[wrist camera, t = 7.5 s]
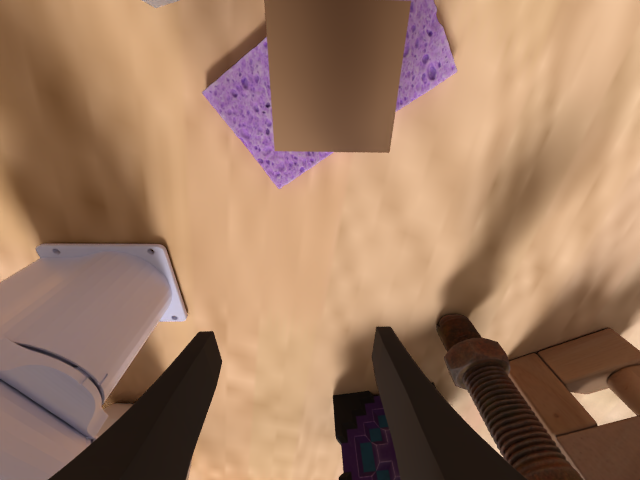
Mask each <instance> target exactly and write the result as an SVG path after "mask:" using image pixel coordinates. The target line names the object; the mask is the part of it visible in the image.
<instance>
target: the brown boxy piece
mask: <svg viewBox="0 0 640 480" xmlns="http://www.w3.org/2000/svg"><path fill="white" fill-rule="evenodd" d="M264 3H265V18H266V32H267V47H268V62H269V76H270V91H271V106H272V120H273V135H274V150H275V151H295V152H386V153H389V152H390V145H391V138H392V131H393V124H394V117H395V110H396V103H397V96H398V89H399V82H400V75H401V68H402V61H403V54H404V47H405V41H406V34H407V27H408V20H409V13H410V6H411V1H403V0H264Z"/></svg>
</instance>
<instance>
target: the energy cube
mask: <svg viewBox="0 0 640 480" xmlns="http://www.w3.org/2000/svg"><path fill="white" fill-rule="evenodd" d="M432 385H433V386H434V387H435V385H434V383H432ZM435 388H436V387H435ZM333 404H334V419H335V433H336V439H337V441H338V442H339V443H340V444H341V446H342V458H343V470H344V473H343V474H342V475H341V476H340V477H339V480H401V479H400V474H399V469H398V464H397V459H396V454H395V449H394V445H393V441H392V437H391V433H390V430H389V426H388V423H387V419H386V415H385V412H384V408H383V405H382V401H381V398H380V395H379V396H373V395H372V394H371V393H370V392H369V391H364V392H357V393H349V394H342V395H334V396H333Z"/></svg>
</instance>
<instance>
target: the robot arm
mask: <svg viewBox="0 0 640 480" xmlns="http://www.w3.org/2000/svg"><path fill="white" fill-rule="evenodd" d="M150 249H152V250H154V252H153V251H151V250H150ZM36 251H37V253H38V255H39V256H40V259H38V260H37V261H35V262H33V263H32V264H30V265H28V266H27V267H25V268H23V269H22V270H20V271H18V272H17V273H15V274H13V275H12V276H10V277H8V278H7V279H5V280H3V281H2V282H0V480H186V477H187V474H188V470H189V466H190V462H191V459H192V455H193V452H194V449H195V446H196V443H197V440H198V437H199V435H200V432H201V429H202V426H203V423H204V420H205V418H206V415H207V412H208V409H209V406H210V403H211V401H212V398H213V395H214V392H215V389H216V386H217V382H218V378H219V374H220V369H221V364H222V359H221V356H220V352H219V349H218V346H217V342H216V339H215V335H214V332H213V331H210V332H199V333H198V334H197V335H196V336H195V337H194V338H193V339H192V340H191V342H190V343H189V344H188V345H187V346H186V348H185V349H184V350H183V351H182V352H181V353H180V355H179V356H178V357H177V358H176V359H175V360H174V362H173V363H172V364H171V365H170V366H169V367H168V368H167V369H166V370H165V372H164V373H163V374H162V375H161V376H160V377H159V378H158V379H157V380H156V382H155V383H154V384H153V385H152V386H151V387H150V388H149V389H148V390H147V391H146V392H145V393H144V394H143V395H142V396H141V397H140V398H139V399H138V400H137V401H136V402H135V403H134V404H133V405H132V406H131V407H130V408H129V409H128V410H127V411H126V412H125V413H124V414H123V415H122V416H121V417H120V418H119V419H118V420H117V421H116V422H115V423H114V424H113V425H112V426H110V427H109V428H108V429H107V430H106V431H105V432H104V433H103V434H102V435H101V436H99V437H98V436H96V435H97V433H98V432H99V430H100V429H101V427H102V425H103V424H104V422H105V421H106V419H107V418H108V414H107V413H105V412H104V410H103V409H102V405H103V404H104V402H105V401H106V399H107V398H108V396H109V395H110V393H111V392H112V390H113V389H114V387H115V386H116V384H117V383H118V381H119V380H120V379H121V377H122V376H123V374H124V373H125V371H126V370H127V368H128V367H129V365H130V364H131V362H132V361H133V359H134V358H135V356H136V355H137V353H138V352H139V350H140V349H141V347H142V346H143V345H144V343H145V342H146V340H147V339H148V337H149V336H150V334H151V333H152V331H153V330H154V328H155V327H156V325H157V324H158V322H159V321H185V320H186V318H187V316H188V315H187V312H186V309H185V306H184V302H183V299H182V296H181V293H180V290H179V287H178V284H177V281H176V278H175V275H174V271H173V268H172V265H171V262H170V259H169V256H168V253H167V250H166V248H165V247H164V246H163V245H161V244H40V245H39V246H37V247H36ZM372 361H373V367H374V373H375V378H376V383H377V387H378V390H379V394H380V398H381V401H382V405H383V408H384V412H385V415H386V419H387V423H388V426H389V430H390V433H391V437H392V441H393V445H394V449H395V454H396V459H397V464H398V469H399V474H400V479H401V480H527V479H526V478H525V477H524V476H523V475H522V474H520V473H519V472H518V471H517V470H516V469H515V468H514V467H513V466H511V465H510V464H509V463H508V462H507V461H506V460H505V459H504V458H503V457H502V456H501V455H499V454H498V453H497V452H496V451H495V450H494V449H493V448H492V447H491V446H490V445H489V444H488V443H487V442H486V441H485V440H484V439H482V438H481V437H480V436H479V435H478V434H477V433H476V432H475V431H474V430H473V429H472V428H471V427H470V426H469V425H468V424H467V423H466V422H465V421H464V419H463V418H462V417H461V416H460V415H459V414H458V413H457V412H456V411H455V410H454V409H453V408H452V407H451V405H450V404H449V403H448V402H447V401H446V400H445V399H444V398H443V396H442V395H441V394H440V393H439V392H438V391H437V389H436V388H435V387H434V386H433V385H432V383H431V382H430V381H429V380H428V378H427V377H426V376H425V375H424V373H423V372H422V371H421V369H420V368H419V367H418V365H417V364H416V363H415V361H414V360H413V359H412V357H411V356H410V355H409V353H408V352H407V350H406V349H405V348H404V346H403V345H402V343H401V342H400V340H399V339H398V337H397V336H396V334H395V333H394V331H393V329H392V328H391V327H376V332H375V339H374V346H373V352H372Z"/></svg>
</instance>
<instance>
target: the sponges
mask: <svg viewBox="0 0 640 480" xmlns="http://www.w3.org/2000/svg"><path fill="white" fill-rule="evenodd" d="M403 1H411V6H410V13H409V20H408V27H407V34H406V41H405V47H404V54H403V61H402V68H401V75H400V82H399V89H398V96H397V103H396V110H395V112H396V111H398V110H400V109H401V108H403V107H404V106H406V105H408V104H409V103H410V102H411V101H413V100H415V99H417V98H418V97H420V96H421V95H423V94H425V93H426V92H428V91H430V90H431V89H432V88H434V87H435V86H437V85H438V84H439V83H441V82H443V81H444V80H446V79H447V78H449V77H450V76H451V75H453V74H455V73H456V72H457V68H456V66H455V63H454V59H453V56H452V53H451V51H450V47H449V43H448V40H447V37H446V34H445V31H444V28H443V26H442V25H441V24H440V23H439V21H438V19H437V16H436V12H437V7H436V5H435V3H434V0H403ZM202 93H203V95H204V96H205V97H206V99H207V100H208V101H209V102H210V104H211V105H212V106H213V107H214V108H215V109H216V110H217V112H218V113H219V115H220V116H221V117H222V118H223V119H224V121H225V122H226V123H227V124H228V126H229V127H230V128H231V129H232V130H233V132H234V133H235V134H236V136H237V137H238V138H240V139H241V141H242V142H243V144H244V145H245V146H246V147H247V149H248V150H249V151H250V152H251V154H252V155H253V156H254V158H255V159H256V160H257V161H258V162H259V164H260V165H261V166H262V167H263V169H264V171H265V172H266V173H267V175H268V176H269V177H270V179H271V180H272V181H273V182H274V183H275V185H276V186H277V188H278V189H280V188H281V187H283V186H284V185H286V184H288V183H289V182H291V181H292V180H294V179H295V178H297V177H298V176H299V175H301V174H302V173H304V172H305V171H307V170H308V169H310V168H312V167H313V166H315V165H316V164H317V163H319V162H320V161H321V160H323V159H325V158H326V157H327V156H329V155H330V154H332V153H333V152H295V151H275V150H274V135H273V120H272V106H271V91H270V76H269V62H268V47H267V37H266V38H264V39H263V41H262V42H260V43H259V44H258V45H257V46H256V47H255V48H253V49H252V50H250V51H249V52H248V53H247V54H246V55H244V56H243V57H242V58H241V59H240V60H239V61H238V62H237V63H236V64H234V65H233V66H232V67H231V68H230V69H228V70H227V71H226V72H225V73H224V74H222V75H221V76H220V77H219V78H218V79H217V80H216V81H215V82H213V83H212V84H211V85H209V86H208V87H207V88H206V89H205V90H204V91H203V92H202Z"/></svg>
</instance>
